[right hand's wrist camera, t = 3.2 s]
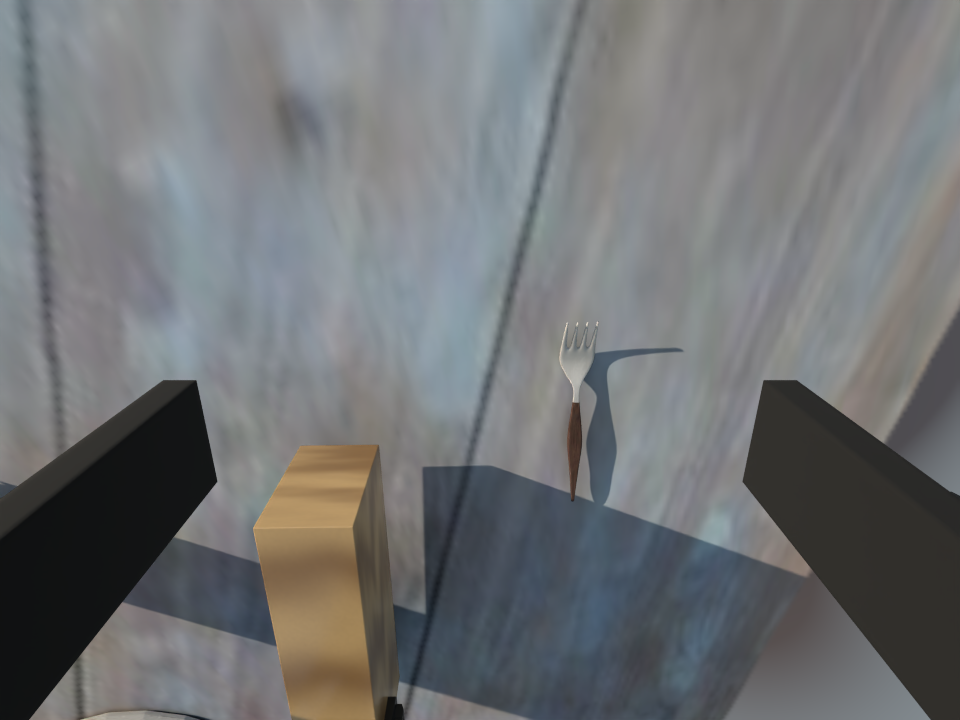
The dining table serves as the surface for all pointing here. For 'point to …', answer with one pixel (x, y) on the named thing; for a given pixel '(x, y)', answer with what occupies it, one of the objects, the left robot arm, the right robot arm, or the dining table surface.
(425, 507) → the dining table surface
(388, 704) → the left robot arm
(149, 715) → the wall clock
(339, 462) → the bar
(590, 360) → the fork
